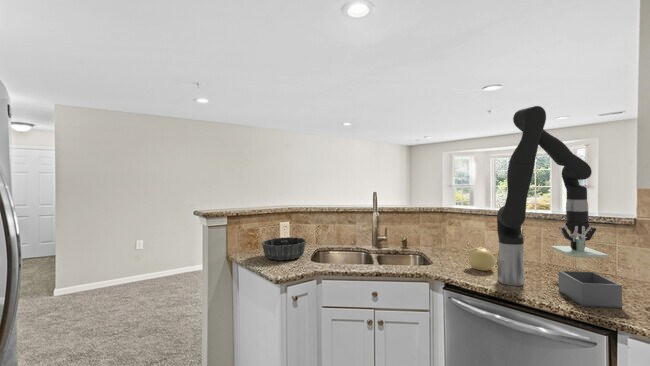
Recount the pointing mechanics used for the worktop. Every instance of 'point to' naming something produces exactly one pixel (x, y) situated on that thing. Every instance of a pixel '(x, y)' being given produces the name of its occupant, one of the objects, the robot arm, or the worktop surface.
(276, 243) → the bundt pan
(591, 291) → the tub
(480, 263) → the sculpture
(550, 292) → the worktop surface
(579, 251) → the lid
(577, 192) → the robot arm
